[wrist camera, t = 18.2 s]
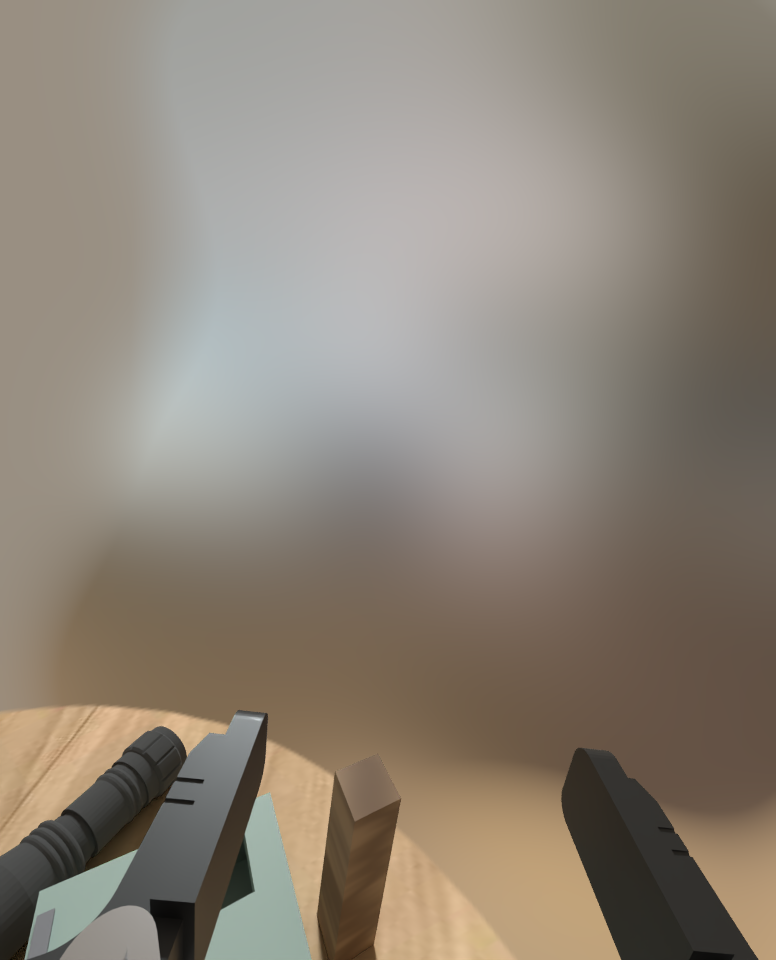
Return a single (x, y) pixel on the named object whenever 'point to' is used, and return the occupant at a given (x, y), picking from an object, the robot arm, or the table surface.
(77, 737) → the table surface
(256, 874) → the peg-in-hole base
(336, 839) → the wooden peg
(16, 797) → the table surface
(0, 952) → the flashlight
